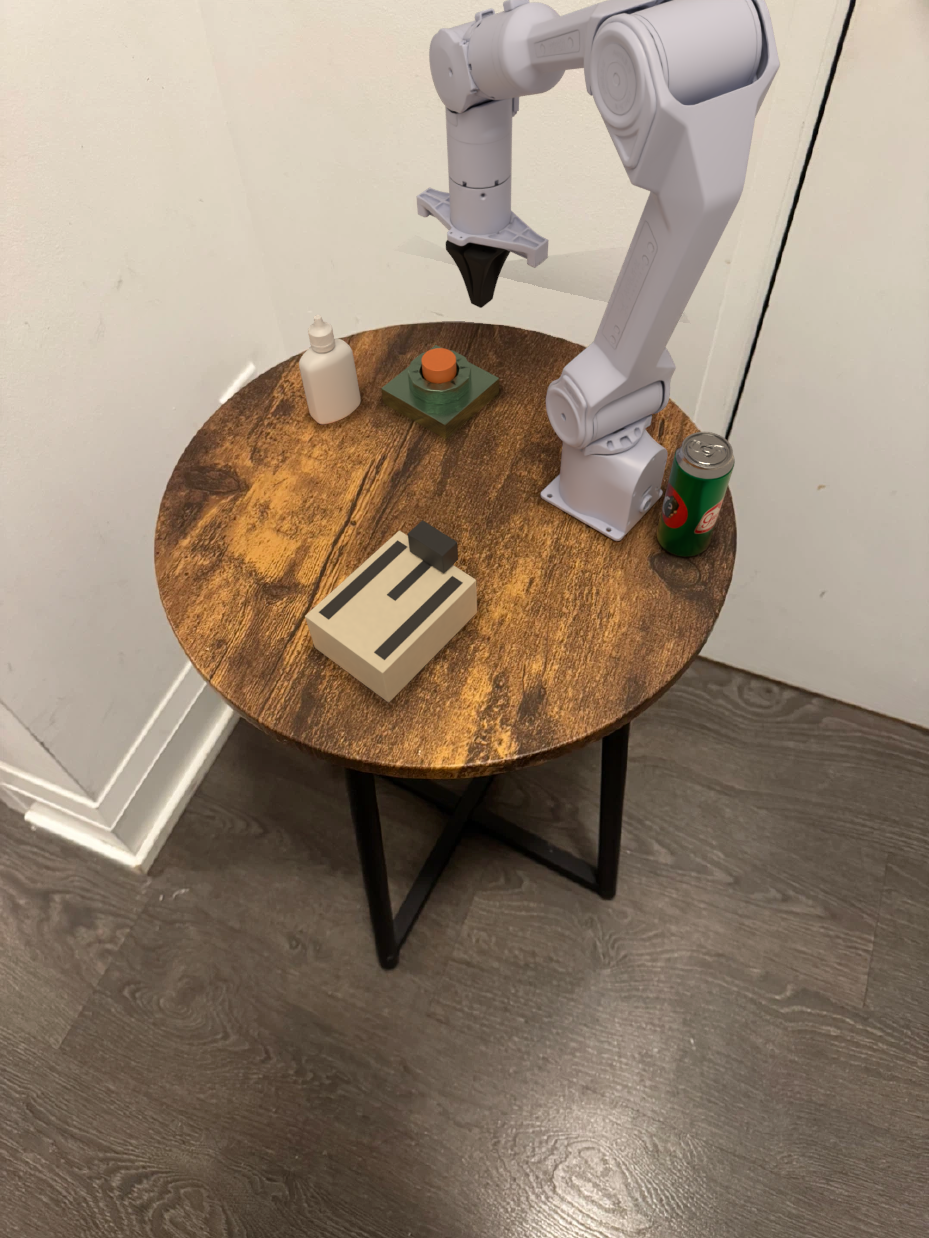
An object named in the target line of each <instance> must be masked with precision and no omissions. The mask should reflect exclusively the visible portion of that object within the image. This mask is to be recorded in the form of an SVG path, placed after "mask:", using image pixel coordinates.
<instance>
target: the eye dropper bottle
mask: <svg viewBox="0 0 929 1238" xmlns="http://www.w3.org/2000/svg"><path fill="white" fill-rule="evenodd" d="M307 333H308V338H309V343H310V347H308V348H307V349H306V350H305V352H304V353H303V354H302V355H301V357H300V359H299V361H298V368H299V372H300V377H301V381H302V386H303V390H304V391H303V392H304V395H305V401H306V404H307V407H308V412H309V415H310V417H311V418H312V419H313V420H314V421H315V422H316V423H317V424H320V425H328V424H332V423H336V422H338V421H340V420H343V419H345V418H346V417H348V416H350V415H351V414H353V412H355V411H356V410H357V409H358V408H359V406H360V405H361V402H362V399H361V392H360V388H359V381H358V374H357V369H356V362H355V357H354V353H353V350H352V347H351V346H350V345H349V343H347V342H346V341H344V340H343V339H341V338H335V335H334V330H333V326H332V325H331V323H329V322H327V321H324V320H323V318H322V316H321V314H316V315H314V317H313V323H311V325H309V326H308V328H307Z"/></svg>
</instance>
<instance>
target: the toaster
mask: <svg viewBox="0 0 929 1238" xmlns="http://www.w3.org/2000/svg"><path fill="white" fill-rule="evenodd" d="M477 592H478V590H477V579H475V578H474V577H473V576H471V575H469V574H468V573H467V572H465V571H464V570H462V569H460V568H458V567H457V566H455V564H453V565H452V566H451V567H450V568H449V569H448V570H447V571H446V572H445V573H442V572H440V571H439V570H437V569H436V568H434V567H433V566H431V565H430V564H428V563H427V562H425V561H424V560H422V559H420V558H419V557H417V556H416V555H414V554H413V553H411V552H410V549H409V542H408V534H405V532H403V531H401V530H398V531H397V532H395V533H394V534H393V536H391V537H390V538H389V539H388V540H386V542H384V544H382V545H381V546H380V547H379V548H378V549H377V550H376V551H375V552H374V553H372V554H371V555H370V556H369V557H368V558H367V559H366V560H365V561H364V562H363V563H362V564H361V565H359V566H358V567H357V568H355V570H354V571H353V572H351V574H349V575H348V576H347V577H346V578H345V579H344V580H343V581H342V582H341V583H339V584H338V585H337V586H336V587H335V588H334V589H333V590H332V591H330V592H329V593H328V594H327V595H326V596H325V597H324V598H323V599H322V600H321V601H320V602H319V603H318V604H316V605H315V606H314V607H313V608H312V609H311V610H310V611H308V613H306V614H305V615H304V618H305V621H306V624H307V628H308V631H309V634H310V637H311V640H312V643H313V646H314V648H315V649H316V650H317V651H318V652H320V653H321V654H323V655H324V656H325V657H327V658H328V659H330V660H331V661H332V662H334V663H335V664H336V665H337V666H339V667H340V668H341V669H343V670H344V671H345V672H347V673H348V674H350V675H351V676H352V677H353V678H355V679H356V680H357V681H359V682H360V683H361V684H363V685H364V686H365V687H367V688H368V689H369V690H371V691H372V692H373V693H374V694H376V695H378V696H379V697H380V698H382V699H383V700H384V701H386V702H387V703H390V702H391V701H392V700H393V699H394V698H395V697H396V696H397V695H398V694H399V693H400V692H401V691H402V690H403V689H404V688H405V687H406V686H407V685H408V684H409V683H410V681H412V680H413V679H414V678H415V677H416V676H417V675H418V674H419V672H421V670H423V668H424V667H425V666H426V665H428V664H429V663H430V662H431V660H432V659H433V658H434V657H435V656H437V654H438V653H439V652H440V651H441V650H442V649H443V648H444V647H445V646H446V645H447V644H448V643H449V642H450V641H451V640H453V638H454V637H455V636H456V635H457V634H458V633H459V632H460V631H461V630H462V629H463V628H464V627H465V626H466V625H467V624H468V623H469V622H470V620H472V618H474V616H475V615H476V614H477V613H478V593H477Z"/></svg>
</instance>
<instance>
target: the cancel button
mask: <svg viewBox="0 0 929 1238" xmlns="http://www.w3.org/2000/svg"><path fill="white" fill-rule="evenodd" d="M430 349H431V348H430ZM430 349H429V350H427V351H425V352H426V353H425V354H424V355H423V356H422V373H423V376H424V378H425V379H426V380H427V381H429V382H431V383H440V384H441V383H445V382H448V381H451V380H452V379H453V378H454V377H455V375H456V372H457V370H456V357H455V355H454V353H453V352H451V351H450V350H451V349H447V348H445V347H444V348H443V347H441V348H435V349H431V350H430Z"/></svg>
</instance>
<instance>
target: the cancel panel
mask: <svg viewBox="0 0 929 1238" xmlns="http://www.w3.org/2000/svg"><path fill="white" fill-rule="evenodd" d="M435 348H442V347H441V346H439V345H437V344H434V345H433V346H432V347H431V348H430V349H429V350H431V349H435ZM449 350H450V351H451V352H453V353H454V355H455V357H456V370H457V372H456V375H455V377H454V378H453V379H452V380H451V381H448V382H445V383H441V384H440V383H431V382H429V381H427V380H426V379H425V378H424V376H423V373H422V356H423V355H424V354H425V353H426V352H427V351H425V352H421V353H420V354H419V355H417V357H415V358H414V359H412V360H411V361H410V364H409V366H407V367H405V368H404V369H403V370H402V371H401V372H400V373H398V374H397V375H396V376H395V377H393V378H392V379H391V380H390V381H388V382H387V383H386V384H385V385H384V386H382V387H381V388H380V390H381V397H382V404H383V405H385V406H387V407H388V408H390V409H392V410H393V411H395V412H397V413H399V414H400V415H402V416H404V417H406V418H408V419H410V420H411V421H413V422H415V423H416V424H418V425H420V426H422V427H423V428H425V429H427V430H428V431H430V432H431V433H434V434H435V435H437V436H439V437H440V438H442V439H444V440H448V439H449V438H450V437H451V436H452V435H454V433H456V432H457V431H458V430H459V429H460V428H461V427H463V425H464V424H466V423H467V422H468V421H469V420H470V419H472V418H473V417H474V416H475V415H476V414H477V413H479V412H480V411H481V410H482V409H483V408H485V406H487V405H488V404H489V403H490V402H491V401H493V399H494V398H496V397H497V396H498V395H500V378H499V377H498V376H496V375H495V374H493V373H491V372H489V371H487V370H485V369H483V368H482V367H479V366H477V365H475V364H473V363H471V362H470V361H468V359H467V357H466V356H464V355H462V354H460V353H458V352H457V351H454V350H451V349H449Z"/></svg>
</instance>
